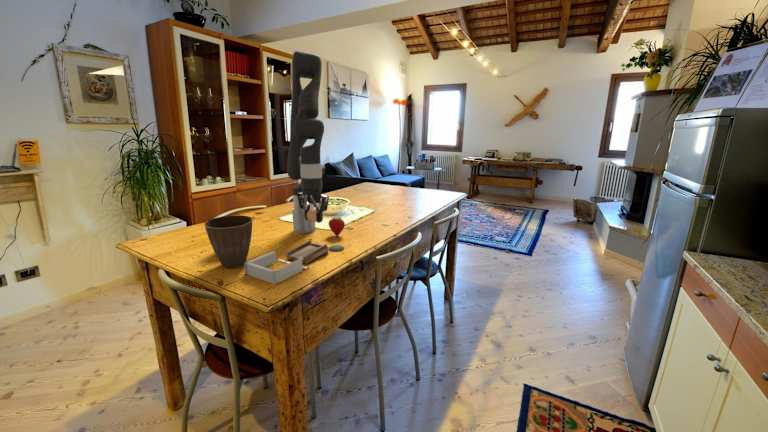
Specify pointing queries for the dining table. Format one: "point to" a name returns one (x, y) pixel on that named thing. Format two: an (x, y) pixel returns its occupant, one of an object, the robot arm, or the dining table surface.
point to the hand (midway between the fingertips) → (313, 220)
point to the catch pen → (273, 276)
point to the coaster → (336, 248)
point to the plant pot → (230, 239)
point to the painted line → (289, 262)
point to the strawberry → (336, 225)
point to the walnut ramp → (307, 251)
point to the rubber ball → (312, 215)
